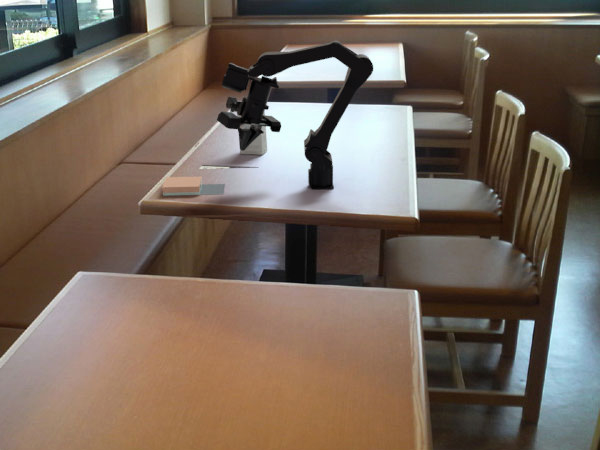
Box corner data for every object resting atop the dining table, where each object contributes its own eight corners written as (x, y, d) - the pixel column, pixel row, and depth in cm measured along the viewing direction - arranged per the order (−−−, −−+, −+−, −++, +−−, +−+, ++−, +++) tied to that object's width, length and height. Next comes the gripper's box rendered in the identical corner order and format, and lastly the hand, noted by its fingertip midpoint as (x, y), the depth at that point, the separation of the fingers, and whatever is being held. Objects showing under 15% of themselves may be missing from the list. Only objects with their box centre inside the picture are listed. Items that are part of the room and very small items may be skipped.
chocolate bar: (252, 175, 200) (194, 173, 203) (252, 178, 200) (194, 176, 203) (258, 167, 208) (202, 164, 211) (258, 169, 209) (203, 167, 211)
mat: (225, 185, 193) (225, 183, 192) (223, 196, 184) (223, 194, 184) (178, 187, 192) (177, 185, 192) (174, 197, 184) (174, 195, 183)
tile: (201, 176, 191) (166, 177, 191) (199, 186, 183) (162, 187, 182) (202, 184, 192) (167, 185, 192) (199, 194, 184) (163, 195, 183)
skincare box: (267, 151, 227) (266, 107, 222) (262, 155, 222) (261, 111, 216) (244, 149, 229) (242, 106, 224) (238, 154, 224) (236, 110, 218)
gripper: (267, 90, 194) (252, 139, 200) (214, 83, 182) (199, 136, 188) (289, 105, 187) (273, 155, 193) (236, 99, 175) (220, 153, 181)
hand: (241, 149), depth 189 cm, fingers closed
